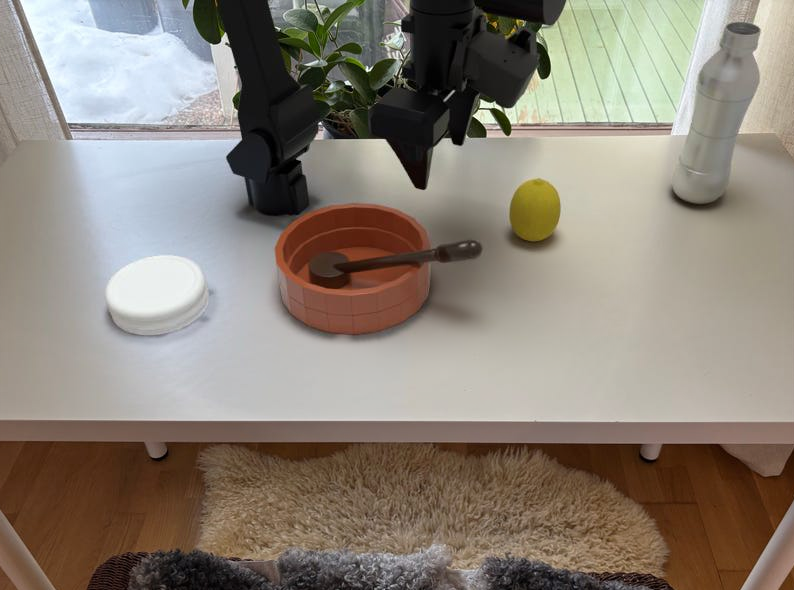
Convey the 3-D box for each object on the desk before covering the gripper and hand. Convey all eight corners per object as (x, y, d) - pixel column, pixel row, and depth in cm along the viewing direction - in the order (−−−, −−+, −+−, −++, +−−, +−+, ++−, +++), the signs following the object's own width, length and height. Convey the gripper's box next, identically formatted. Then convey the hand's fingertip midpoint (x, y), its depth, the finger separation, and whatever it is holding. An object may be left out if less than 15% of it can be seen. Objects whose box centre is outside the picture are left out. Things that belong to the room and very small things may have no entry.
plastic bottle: (729, 190, 95) (783, 23, 81) (713, 217, 91) (766, 46, 77) (677, 175, 97) (720, 11, 83) (659, 201, 93) (701, 33, 79)
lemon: (554, 258, 86) (563, 195, 80) (504, 253, 86) (509, 190, 81) (557, 229, 89) (566, 168, 84) (509, 225, 90) (515, 163, 85)
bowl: (253, 314, 80) (244, 269, 76) (328, 234, 90) (323, 190, 86) (389, 358, 75) (387, 312, 71) (452, 267, 85) (454, 223, 81)
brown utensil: (302, 283, 82) (292, 206, 75) (322, 260, 85) (315, 184, 78) (468, 335, 76) (473, 256, 69) (484, 308, 79) (491, 231, 72)
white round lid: (211, 273, 85) (204, 247, 82) (210, 333, 78) (203, 307, 75) (117, 285, 84) (108, 258, 81) (108, 347, 77) (98, 320, 74)
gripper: (492, 60, 58) (481, 235, 68) (566, -20, 69) (547, 139, 80) (360, 37, 61) (369, 206, 72) (452, -36, 73) (448, 119, 84)
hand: (440, 165), depth 77 cm, fingers open, 9 cm apart
